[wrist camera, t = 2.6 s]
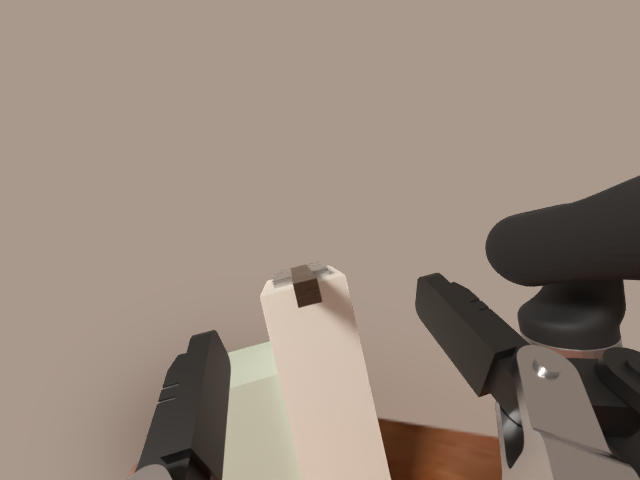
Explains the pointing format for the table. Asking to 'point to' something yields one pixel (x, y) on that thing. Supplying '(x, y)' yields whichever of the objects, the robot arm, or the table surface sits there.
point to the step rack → (304, 394)
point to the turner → (302, 282)
